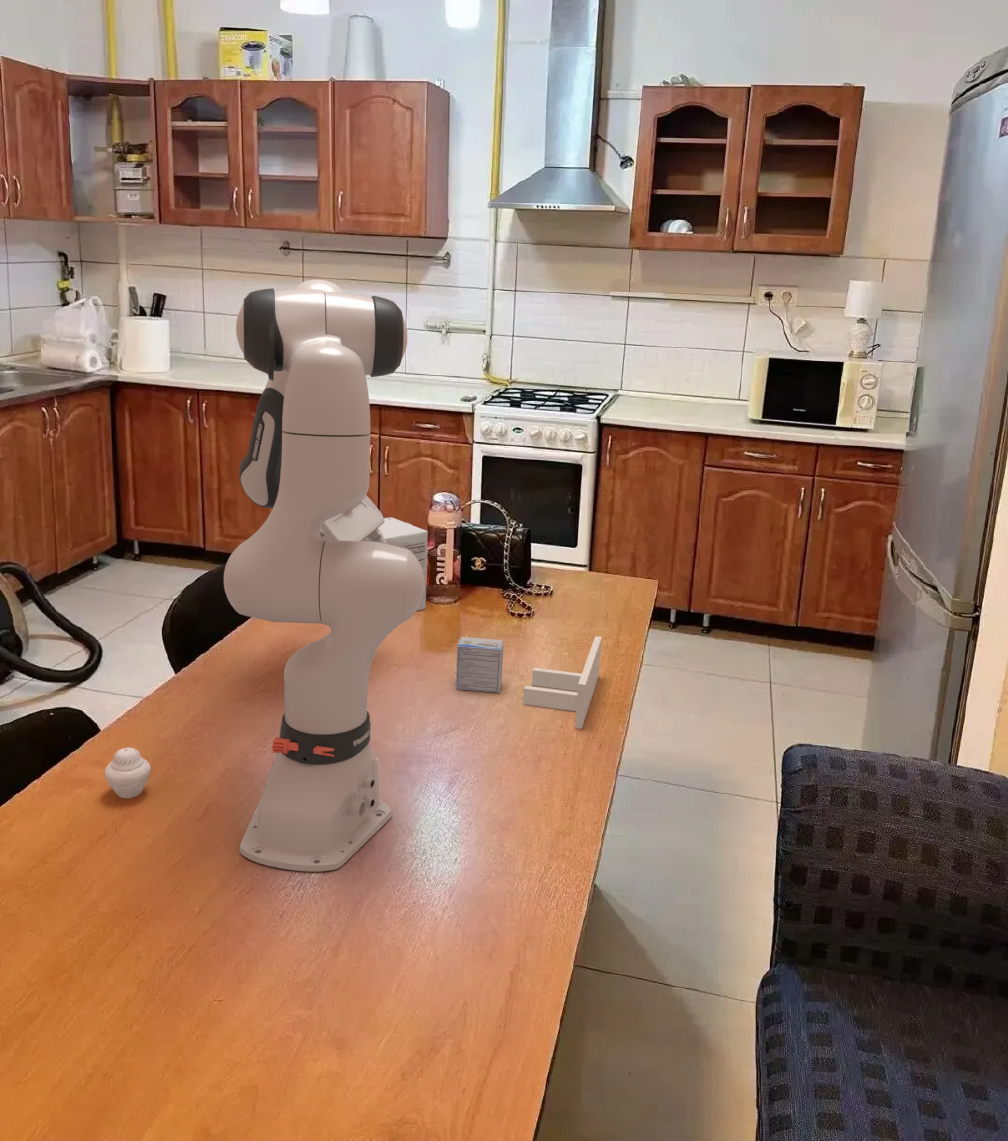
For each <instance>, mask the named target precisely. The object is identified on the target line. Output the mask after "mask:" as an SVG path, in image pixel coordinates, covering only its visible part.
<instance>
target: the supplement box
mask: <svg viewBox="0 0 1008 1141" xmlns="http://www.w3.org/2000/svg"><path fill="white" fill-rule="evenodd" d="M383 518H384V521H385V522H384V523H383V524H382V525H381V526H380V527H379V528H378V529H379V530H380V531H381V532H382V534H383V536H384V538H385V541H386V543H387V544H389V545H393V546H397V547H401V548H405V549H409V550H410V551H411V552H412V553H413V554H414V555H415V557H416V558H417V560H418V561H419V563H420V565H421V567H422V570H423V574H424V580H425V588H424V594H423V598H422V601H421V603H420V605H419V607H418V609H417V610H416V611H415V612H418V611H422V610H425V609H426V607H427V606H426V605H427V603H426V602H427V568H428V567H427V566H428V565H427V563H428V538H429V537H428V530H426V529H423V528H420V527H419V526H414V525H412V524H411V523H409V522H405V521H402V520H400V519H397V518H395V517H383ZM363 541H369V542H373V541H371V540H370V539H369V538H368V537H367V538H366V539H364V540H363Z"/></svg>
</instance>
